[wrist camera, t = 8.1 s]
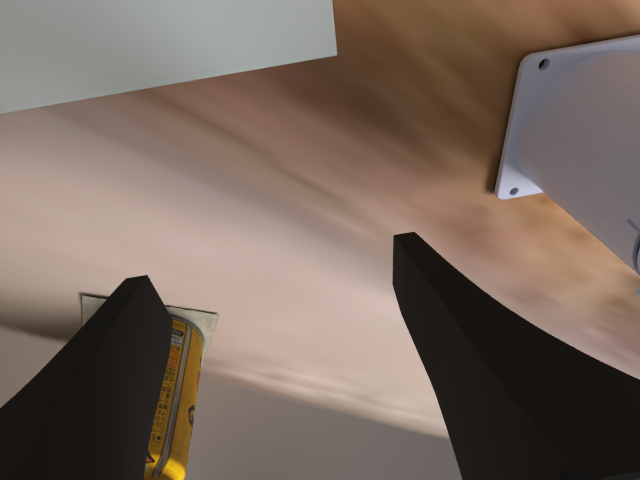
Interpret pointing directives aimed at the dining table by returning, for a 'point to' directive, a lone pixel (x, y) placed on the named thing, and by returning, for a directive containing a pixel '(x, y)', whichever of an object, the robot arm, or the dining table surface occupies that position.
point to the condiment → (174, 390)
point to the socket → (148, 44)
